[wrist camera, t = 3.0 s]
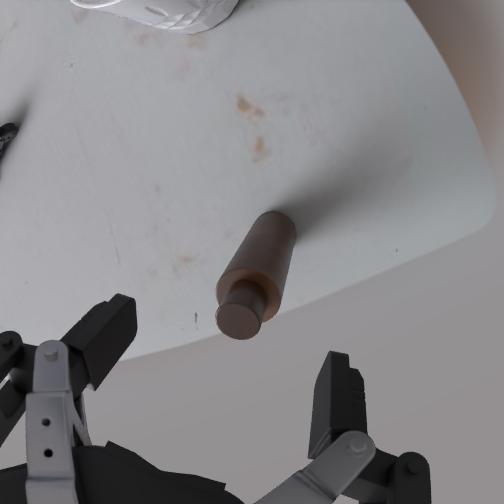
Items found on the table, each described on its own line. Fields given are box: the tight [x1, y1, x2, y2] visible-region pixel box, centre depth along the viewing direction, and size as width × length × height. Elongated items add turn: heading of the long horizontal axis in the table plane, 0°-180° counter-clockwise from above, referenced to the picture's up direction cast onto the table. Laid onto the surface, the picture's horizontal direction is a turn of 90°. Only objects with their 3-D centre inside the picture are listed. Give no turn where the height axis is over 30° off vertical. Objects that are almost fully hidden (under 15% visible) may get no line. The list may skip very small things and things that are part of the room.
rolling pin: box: [215, 212, 296, 340], centre depth 18 cm, size 3×3×11 cm
